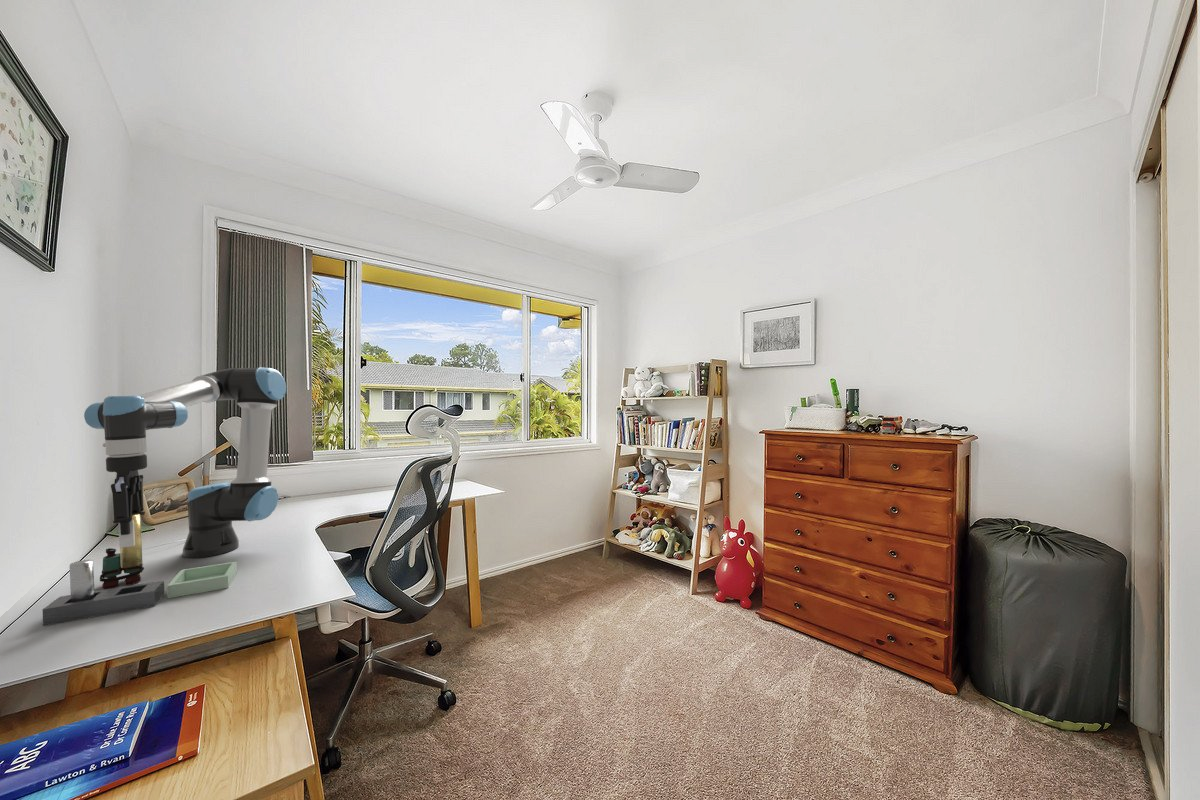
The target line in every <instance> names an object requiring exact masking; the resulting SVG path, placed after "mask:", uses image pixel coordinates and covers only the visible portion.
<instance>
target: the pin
mask: <svg viewBox="0 0 1200 800" xmlns="http://www.w3.org/2000/svg"><path fill="white" fill-rule="evenodd" d="M94 568H95V567H94V559H83V560H79V561H75V562H71V563H70V564H69V579H70V581H69V582H70V583H69V585H70V595H71V603H73V602H79V601H85V600H91V599H93V598H94V597H95V595H94V591H95V576H94V575H95V571H94Z"/></svg>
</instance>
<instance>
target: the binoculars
mask: <svg viewBox="0 0 1200 800" xmlns="http://www.w3.org/2000/svg"><path fill="white" fill-rule="evenodd" d="M116 552H117V549H116V548H106V549H105V553H106V555H105V556H103V557H102V570H101V574H100V575H99V582H101V583H102V587H101V589H102V590H105V589H111V588H118V587H119V584H120V581H122V580H124V583H125V586H130V585H136V584H138V583H139V582H140V581H141V580H142V579H141V578H142V577H141V573H143V571H144V569H145V567H144V566H143V565H144V563H143V562H142V564H140V565H138V566H134V567H129V568H121V558H120V552H119V553H116ZM122 572H123V573H124V574H126V575H121V574H122ZM119 575H120V576H119ZM117 576H118V577H117Z"/></svg>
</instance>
